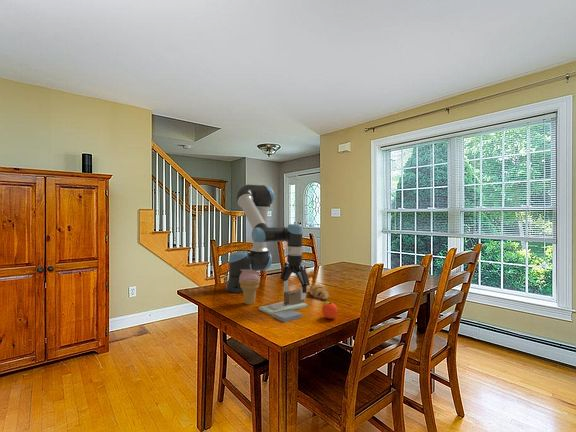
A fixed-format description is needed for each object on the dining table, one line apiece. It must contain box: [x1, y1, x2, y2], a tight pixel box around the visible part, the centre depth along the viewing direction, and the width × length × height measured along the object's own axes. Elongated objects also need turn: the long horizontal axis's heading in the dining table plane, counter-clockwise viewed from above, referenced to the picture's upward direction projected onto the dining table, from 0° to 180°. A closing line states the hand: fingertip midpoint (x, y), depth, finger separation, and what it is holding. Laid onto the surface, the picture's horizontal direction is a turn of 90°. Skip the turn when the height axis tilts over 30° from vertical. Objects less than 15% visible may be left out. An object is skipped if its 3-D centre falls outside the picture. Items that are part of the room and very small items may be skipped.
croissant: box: [309, 283, 330, 301], centre depth 173 cm, size 21×10×8 cm, turn 18°
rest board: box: [258, 301, 309, 316], centre depth 150 cm, size 11×22×1 cm, turn 129°
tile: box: [272, 309, 303, 323], centre depth 136 cm, size 8×2×10 cm
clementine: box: [321, 301, 338, 320], centre depth 136 cm, size 8×7×7 cm
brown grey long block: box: [267, 288, 305, 310], centre depth 152 cm, size 19×6×6 cm, turn 129°
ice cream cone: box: [239, 264, 261, 306], centre depth 158 cm, size 11×11×20 cm
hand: (294, 296), depth 155 cm, fingers open, 13 cm apart
